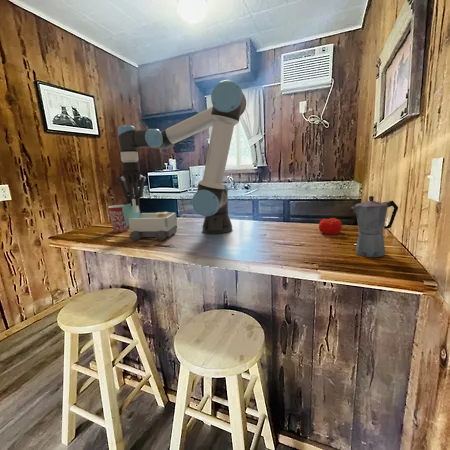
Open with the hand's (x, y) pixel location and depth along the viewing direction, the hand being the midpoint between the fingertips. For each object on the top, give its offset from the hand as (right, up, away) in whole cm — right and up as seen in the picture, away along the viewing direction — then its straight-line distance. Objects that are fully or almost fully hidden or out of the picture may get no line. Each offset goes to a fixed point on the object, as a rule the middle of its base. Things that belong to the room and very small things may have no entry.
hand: (136, 212), depth 123 cm
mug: (-13, -9, +16) cm, 22 cm away
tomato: (+90, -10, -6) cm, 91 cm away
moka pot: (+93, -16, -34) cm, 100 cm away
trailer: (+9, -11, +1) cm, 14 cm away
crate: (+13, -5, +1) cm, 14 cm away
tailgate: (-1, -6, +1) cm, 6 cm away
